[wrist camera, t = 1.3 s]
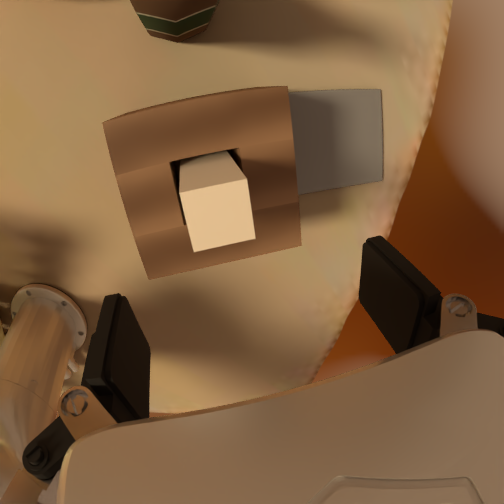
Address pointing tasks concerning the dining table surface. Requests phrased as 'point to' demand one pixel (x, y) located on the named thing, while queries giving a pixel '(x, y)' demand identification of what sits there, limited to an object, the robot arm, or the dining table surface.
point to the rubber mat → (336, 138)
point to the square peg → (215, 201)
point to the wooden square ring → (198, 143)
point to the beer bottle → (175, 17)
